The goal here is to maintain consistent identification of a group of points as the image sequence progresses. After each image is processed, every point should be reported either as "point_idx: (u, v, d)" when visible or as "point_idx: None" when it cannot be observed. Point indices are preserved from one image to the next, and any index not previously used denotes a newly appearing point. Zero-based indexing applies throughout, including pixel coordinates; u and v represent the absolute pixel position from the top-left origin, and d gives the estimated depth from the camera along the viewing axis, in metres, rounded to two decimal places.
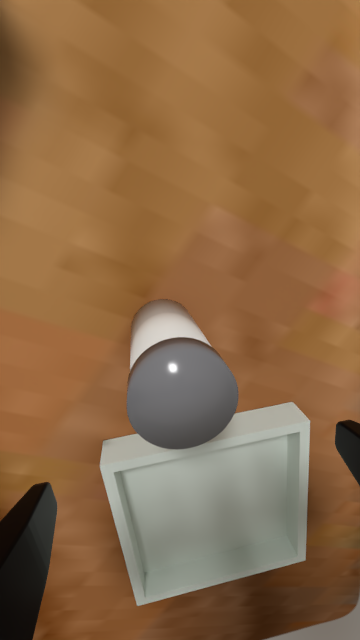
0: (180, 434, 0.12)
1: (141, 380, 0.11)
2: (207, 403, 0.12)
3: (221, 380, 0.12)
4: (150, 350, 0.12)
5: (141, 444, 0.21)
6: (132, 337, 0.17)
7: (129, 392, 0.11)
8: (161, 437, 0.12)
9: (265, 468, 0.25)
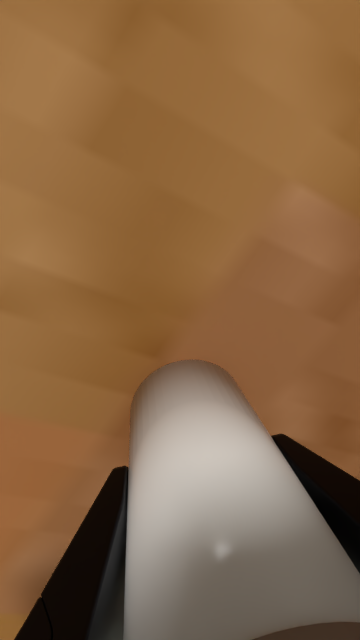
0: None
1: None
2: None
3: None
4: None
5: None
6: (132, 466, 0.08)
7: None
8: None
9: None
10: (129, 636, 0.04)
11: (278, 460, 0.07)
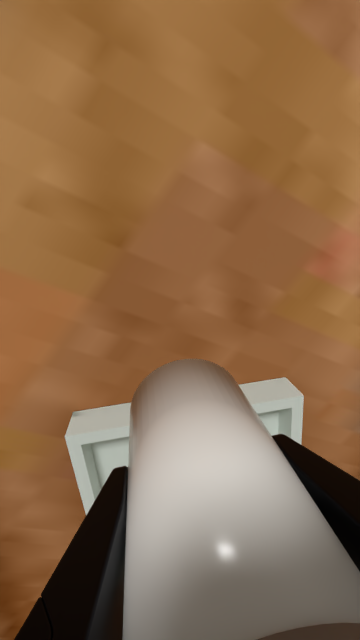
0: None
1: None
2: None
3: None
4: None
5: (114, 416, 0.19)
6: (131, 466, 0.08)
7: None
8: None
9: None
10: (128, 637, 0.04)
11: (279, 459, 0.06)
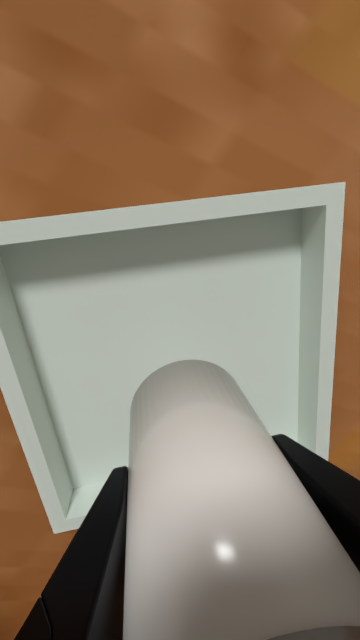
0: None
1: None
2: None
3: None
4: None
5: None
6: (131, 467, 0.07)
7: None
8: None
9: (264, 311, 0.15)
10: (129, 639, 0.04)
11: (279, 461, 0.06)
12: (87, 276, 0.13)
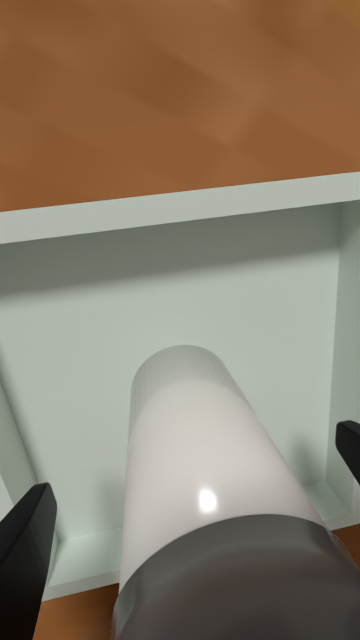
0: None
1: None
2: None
3: None
4: (172, 572, 0.04)
5: None
6: (130, 430, 0.09)
7: None
8: None
9: (291, 330, 0.12)
10: (126, 542, 0.06)
11: (253, 421, 0.08)
12: (71, 288, 0.10)
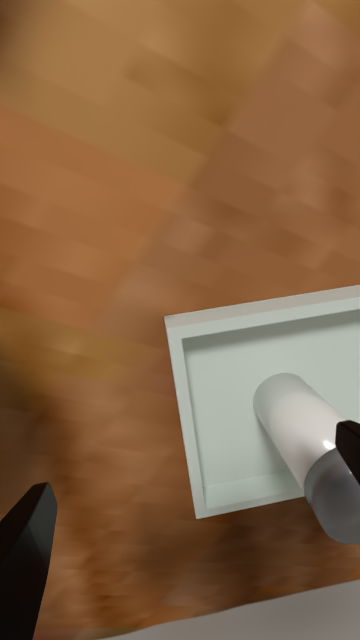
0: (359, 532, 0.13)
1: (338, 490, 0.13)
2: None
3: None
4: (334, 457, 0.13)
5: (210, 314, 0.18)
6: (274, 418, 0.18)
7: (326, 499, 0.13)
8: (343, 534, 0.13)
9: (344, 363, 0.21)
10: (301, 457, 0.15)
11: (339, 413, 0.17)
12: (230, 345, 0.20)
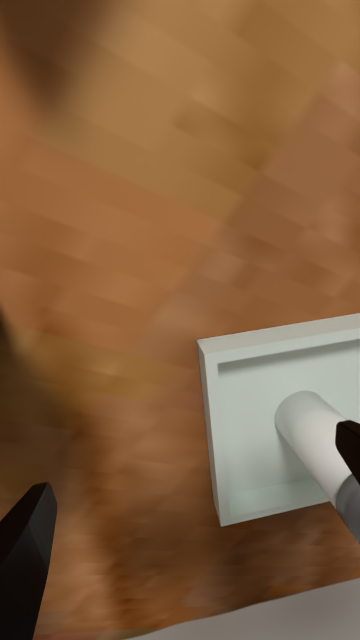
0: None
1: None
2: None
3: None
4: None
5: (241, 340, 0.20)
6: (300, 435, 0.20)
7: None
8: None
9: (358, 382, 0.23)
10: (332, 473, 0.17)
11: None
12: (257, 366, 0.21)
